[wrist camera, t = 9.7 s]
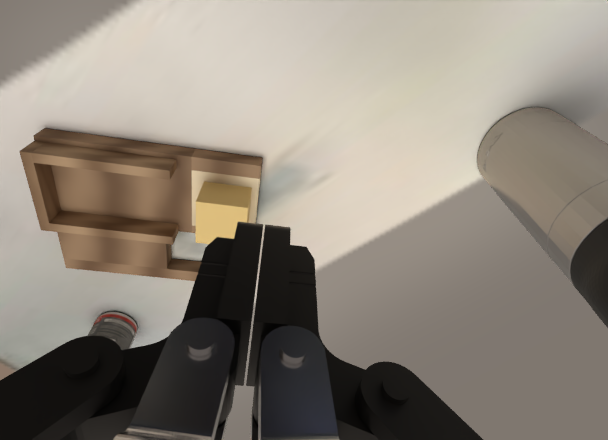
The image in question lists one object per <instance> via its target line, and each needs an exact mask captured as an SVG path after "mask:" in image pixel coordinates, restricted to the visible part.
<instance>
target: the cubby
mask: <svg viewBox="0 0 608 440" xmlns="http://www.w3.org/2000/svg"><path fill="white" fill-rule="evenodd" d="M20 155H21V159H22V162H23V166H24V170H25V173H26V177H27V180H28V184H29V188H30V191H31V195H32V199H33V202H34V206H35V209H36V213H37V217H38V220H39V224H40V228H41V230H45V231H54V232H63V233H72V234H81V235H91V236H100V237H109V238H118V239H127V240H136V241H145V242H154V243H163V244H172V245H173V243H174V241H175V238H176V236H177V234H178V231H179V228H178V224H175V223H166V222H158V221H149V220H141V219H132V218H123V217H115V216H106V215H97V214H89V213H80V212H71V211H63V210H61V207H60V202H59V198H58V194H57V190H56V185H55V181H54V177H53V172H52V168H51V165H56V166H64V167H72V168H80V169H88V170H95V171H103V172H111V173H119V174H127V175H135V176H143V177H151V178H159V179H167V180H170V179H171V177H172V176H173V174H174V172H175V170H176V169H177V163H176V159H170V158H162V157H155V156H147V155H139V154H132V153H124V152H117V151H109V150H101V149H94V148H86V147H79V146H71V145H64V144H56V143H48V142H41V141H34V142H32V143H31V144H29V145H28V146H26V147H25V148H24V149H22V150H21V151H20Z"/></svg>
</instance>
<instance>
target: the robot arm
mask: <svg viewBox="0 0 608 440" xmlns="http://www.w3.org/2000/svg"><path fill="white" fill-rule="evenodd" d="M477 163H478V169H479V171H480V173H481V175H482V177H483V178H484V179H485V180H486V181H487V183H488V184H489V185H490V186H491V187H492V188H493V190H494V191H495V192H496V194H497V195H498V196H499V197H500V199H501V200H502V201H503V202H504V203H505V205H506V206H507V207H508V208H509V209H510V211H511V212H512V213H513V214H514V215H515V216H516V218H517V219H518V220H519V221H520V223H521V224H522V225H523V226H524V227H525V228H526V230H527V231H528V232H529V233H530V234H531V236H532V237H533V238H534V239H535V240H536V242H537V243H538V244H539V245H540V246H541V248H542V249H543V250H544V251H545V252H546V254H547V255H548V256H549V257H550V258H551V259H552V261H553V262H554V263H555V264H556V265H557V266H558V267H559V269H560V270H561V271H562V272H563V274H564V275H565V276H566V277H567V278H568V279H569V281H570V282H571V283H572V284H573V286H574V287H575V288H576V289H577V290H578V291H579V293H580V294H581V295H582V296H583V297H584V298H585V300H586V301H587V302H588V303H589V305H590V306H591V307H592V309H593V310H594V311H595V313H596V314H597V315H598V316H599V318H600V319H601V320H602V321H603V323H604V324H605V325H606V326H607V327H608V144H607V143H605V142H603V141H602V140H600V139H598V138H597V137H595V136H594V135H592V134H590V133H589V132H587V131H585V130H583V129H582V128H581V127H579V126H578V125H576V124H574V123H573V122H571V121H569V120H568V119H566V118H564V117H563V116H561V115H560V114H558V113H556V112H554V111H552V110H550V109H547V108H541V107H534V108H526V109H522V110H519V111H516V112H514V113H512V114H509V115H508V116H506V117H505V118H503V119H502V120H500V121H499V122H498V123H497V124H496V125H494V126H493V127H492V128H491V130H490V131H489V132H488V133H487V134H486V136H485V137H484V139H483V141H482V143H481V145H480V148H479V151H478V158H477ZM262 230H263V224H255V223H247V222H238V223H237V227H236V232H235V236H234V239H231V238H222V237H216V238H215V239H214V240H213V241H212V242H211V243H210V244H209V245H208V246H207V247H206V248H205V251H204V255H203V258H202V261H201V264H200V268H199V271H198V275H197V277H196V280H195V284H194V287H193V290H192V293H191V296H190V300H189V303H188V306H187V309H186V312H185V316H184V319H183V321H182V323H181V324H180V325H178V326H177V327H176V328H175V329H174V330H173V331H172V332H171V333H170V335H169V336H168V337H167V338H165V339H163V340H161V341H159V342H157V343H154V344H150V345H146V346H141V347H136V348H130V349H125V350H121V348H120V346H119V345H118V344H117V343H116V342H115V341H113V340H111V339H109V338H107V337H103V336H84V337H80V338H76V339H74V340H71V341H69V342H67V343H65V344H63V345H61V346H59V347H58V348H56V349H54V350H52V351H51V352H49V353H47V354H45V355H44V356H42V357H40V358H38V359H37V360H35V361H33V362H32V363H30V364H28V365H26V366H25V367H23V368H21V369H19V370H18V371H16V372H14V373H13V374H11V375H9V376H7V377H6V378H4V379H2V380H0V440H223V439H224V434H225V429H226V426H227V421H228V415H229V413H230V411H231V408H232V403H233V396H234V389H235V385H241V386H243V385H244V377H245V368H246V361H247V353H248V345H249V337H250V329H251V321H252V313H253V305H254V297H255V288H256V280H257V272H258V264H259V255H260V247H261V238H262ZM315 286H316V280H315V263H314V258H313V257H312V255H311V253H310V252H309V250H308V249H307V247H302V246H294V245H290V227H281V226H273V225H265V232H264V240H263V248H262V257H261V265H260V273H259V281H258V290H257V298H256V307H255V315H254V324H253V332H252V341H251V350H250V358H249V366H248V375H247V384H246V385H247V386H255V388H254V397H253V407H252V414H251V426H250V440H483V439H482V438H481V437H480V436H479V435H478V434H477V433H476V432H475V431H474V430H472V428H470V427H469V426H468V425H467V424H466V423H465V422H464V421H463V420H462V419H461V418H460V417H459V416H458V415H457V414H456V413H455V412H454V411H452V409H450V407H448V406H447V405H446V404H445V403H444V402H443V401H442V400H441V399H440V398H439V397H438V396H437V395H436V394H435V393H434V392H433V391H432V390H431V389H430V388H428V387H427V386H426V385H425V384H424V383H423V382H422V381H421V380H420V379H419V378H418V377H417V376H416V375H415V374H414V373H412V372H411V371H410V370H408V369H407V368H405V367H403V366H401V365H399V364H396V363H392V362H378V363H375V364H373V365H371V366H369V367H368V368H367V369H366V370H364V369H362V368H359V367H357V366H354V365H352V364H349V363H346V362H344V361H342V360H340V359H338V358H337V357H335V356H334V355H333V354H331V353H330V352H329V351H328V350H327V348H326V347H325V346H324V345H323V343H322V341H321V339H320V336H319V332H318V316H317V297H316V287H315Z"/></svg>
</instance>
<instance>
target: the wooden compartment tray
mask: <svg viewBox="0 0 608 440" xmlns="http://www.w3.org/2000/svg"><path fill="white" fill-rule="evenodd" d="M34 140H35V141H41V142H48V143H56V144H64V145H71V146H79V147H86V148H94V149H101V150H109V151H117V152H124V153H132V154H139V155H147V156H155V157H162V158H170V159H176V163H177V169H176V170H175V172H174V174H173V176H172V177H171V179H170V180H167V179H159V178H151V177H143V176H135V175H127V174H119V173H111V172H103V171H95V170H88V169H80V168H72V167H64V166H56V165H51V168H52V172H53V177H54V181H55V185H56V190H57V194H58V198H59V202H60V207H61V210H63V211H71V212H80V213H89V214H97V215H106V216H115V217H123V218H132V219H141V220H149V221H158V222H166V223H175V224H178V228H179V231H183V232H191V233H196V200H197V197H198V195H199V192H200V190H201V188H202V185H203V183H204V182H212V183H219V184H227V185H235V186H243V187H251V188H252V192H251V202H250V213H249V223H255V224H256V215H257V206H258V196H259V187H260V177H261V168H262V158H261V157H253V156H246V155H239V154H231V153H224V152H216V151H209V150H202V149H194V148H187V147H180V146H172V145H165V144H157V143H150V142H143V141H135V140H128V139H120V138H113V137H106V136H98V135H91V134H84V133H76V132H69V131H61V130H54V129H47V128H44V129H43V130H41V131H40V132H38V133H37V134H35V135H34ZM57 233H58V237H59V241H60V245H61V249H62V253H63V257H64V261H65V265H66V268H73V269H83V270H93V271H103V272H112V273H122V274H132V275H142V276H152V277H161V278H171V279H181V280H191V281H195V280H196V277H197V275H198V271H199V268H200V264H201V262H200V261H190V260H181V259H172V256H171V244H163V243H154V242H145V241H136V240H127V239H118V238H109V237H100V236H91V235H81V234H72V233H63V232H57Z"/></svg>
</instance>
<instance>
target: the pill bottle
mask: <svg viewBox="0 0 608 440" xmlns="http://www.w3.org/2000/svg"><path fill="white" fill-rule="evenodd" d="M136 333H137V325H136V323H135V322H134V320H133V319H131V318H130V317H129V316H127V315H125V314H122V313H118V312H108V313H104V314H102V315H100V316H99V317H98V318H97V320H96V321H95V323H94V325H93V327H92V329H91V330H90V332H89V334H88V336H103V337H107V338H109V339H111V340H113V341H115V342H116V343H117V344H118V345H119V346H120V348H121V350H125V349H130V347H131V345H132V342H133V340H134V338H135V335H136Z"/></svg>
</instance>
